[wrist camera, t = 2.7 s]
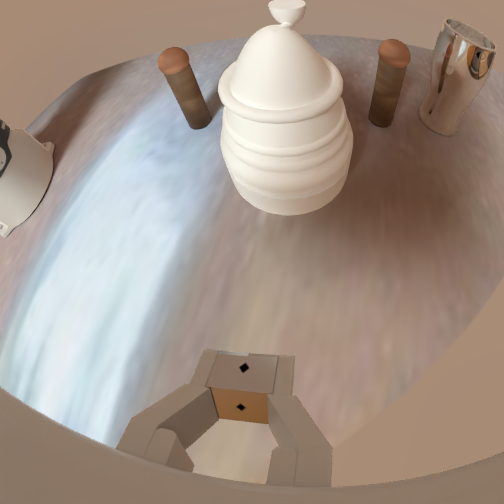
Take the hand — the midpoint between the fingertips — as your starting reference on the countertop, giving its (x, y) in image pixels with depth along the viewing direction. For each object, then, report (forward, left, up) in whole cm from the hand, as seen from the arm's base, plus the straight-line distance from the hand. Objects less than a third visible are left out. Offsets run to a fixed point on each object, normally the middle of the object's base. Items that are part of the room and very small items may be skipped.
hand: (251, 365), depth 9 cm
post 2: (+3, +29, -16) cm, 34 cm away
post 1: (-19, +23, -16) cm, 34 cm away
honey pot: (-6, +19, -16) cm, 26 cm away
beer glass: (+11, +33, -16) cm, 39 cm away
